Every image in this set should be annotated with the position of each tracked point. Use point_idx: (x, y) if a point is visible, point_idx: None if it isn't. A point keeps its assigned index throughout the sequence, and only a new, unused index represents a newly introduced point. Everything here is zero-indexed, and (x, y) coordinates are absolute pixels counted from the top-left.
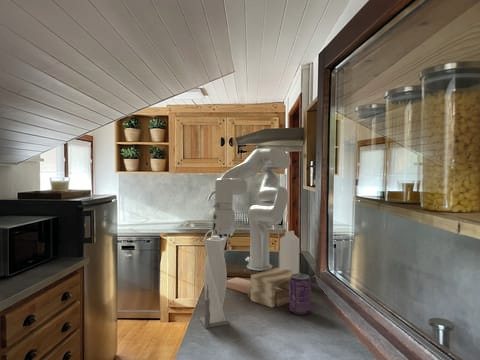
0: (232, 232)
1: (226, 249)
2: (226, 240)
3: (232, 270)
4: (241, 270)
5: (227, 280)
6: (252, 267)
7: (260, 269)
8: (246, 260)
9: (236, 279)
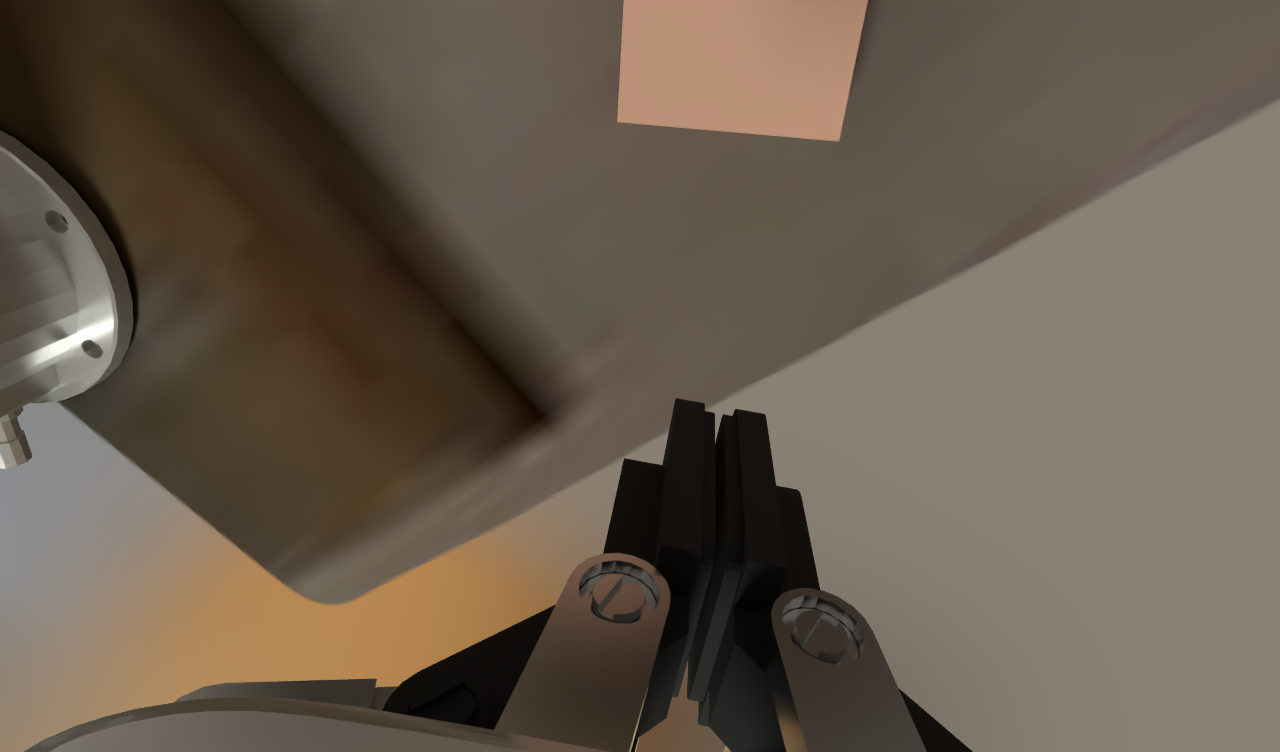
0: (334, 720)
1: (685, 401)
2: (648, 571)
3: (305, 429)
4: (230, 360)
5: (801, 131)
6: (91, 284)
7: (43, 172)
8: (23, 444)
9: (698, 54)
